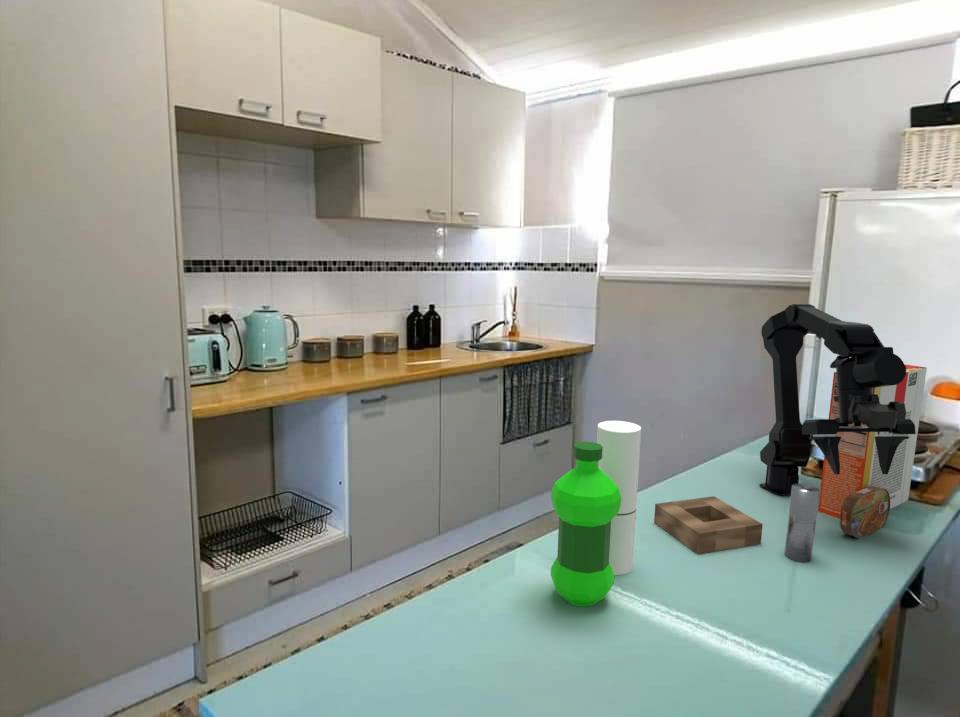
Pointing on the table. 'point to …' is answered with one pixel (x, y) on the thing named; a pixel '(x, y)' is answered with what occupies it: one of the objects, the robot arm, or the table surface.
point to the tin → (864, 511)
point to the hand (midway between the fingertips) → (861, 474)
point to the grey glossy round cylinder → (801, 522)
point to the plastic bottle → (584, 528)
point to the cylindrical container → (621, 486)
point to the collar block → (707, 524)
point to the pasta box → (873, 450)
